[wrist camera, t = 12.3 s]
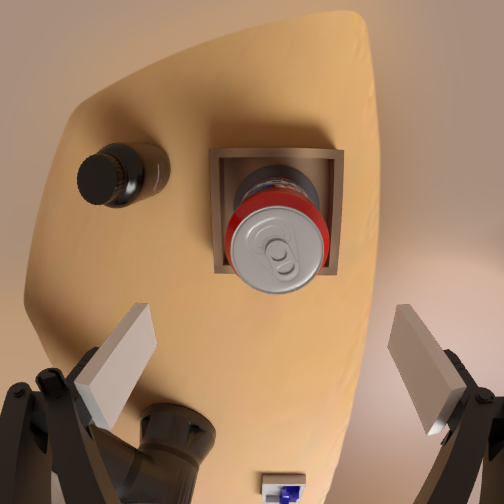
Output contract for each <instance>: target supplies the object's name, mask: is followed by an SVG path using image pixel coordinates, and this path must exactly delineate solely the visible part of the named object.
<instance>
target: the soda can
mask: <svg viewBox="0 0 504 504" xmlns="http://www.w3.org/2000/svg"><path fill="white" fill-rule="evenodd" d="M225 252H226V256H227V259H228V261H229V264H230V266H231V267H232V269H233V270H234V272H235V273H236V274H237V275H238V276H239V277H240V278H241V279H242V280H243V281H244V282H245V283H246V284H248V285H249V286H250V287H252V288H254V289H256V290H258V291H260V292H263V293H267V294H287V293H291V292H294V291H297V290H299V289H301V288H302V287H304V286H305V285H307V284H308V283H309V282H310V281H311V280H312V279H313V278H314V277H315V276H316V275H317V274H318V273H319V272H320V270H321V269H322V267H323V266H324V264H325V261H326V259H327V256H328V252H329V233H328V228H327V225H326V223H325V221H324V219H323V217H322V215H321V213H320V212H319V210H318V209H317V208H316V206H315V205H314V203H313V202H312V200H311V199H310V197H309V196H308V194H307V193H306V192H305V190H304V189H303V188H302V187H301V186H300V185H299V184H298V183H296V182H295V181H293V180H291V179H289V178H286V177H282V176H270V177H266V178H263V179H261V180H259V181H257V182H256V183H254V184H253V185H252V186H251V187H250V188H249V189H248V190H247V192H246V193H245V195H244V197H243V198H242V200H241V202H240V203H239V205H238V207H237V208H236V210H235V212H234V213H233V215H232V217H231V219H230V221H229V223H228V225H227V228H226V232H225Z"/></svg>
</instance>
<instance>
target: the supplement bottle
mask: <svg viewBox="0 0 504 504" xmlns="http://www.w3.org/2000/svg"><path fill="white" fill-rule="evenodd" d="M170 170H171V169H170V162H169V159H168V157H167V155H166V153H165V152H164V151H163V150H162V149H161V148H160V147H158V146H156V145H154V144H150V143H112V144H109V145H106V146H105V147H103V148H102V149H100V150H99V151H98V152H97V153H96V154H94V155H91V156H89V157H88V158H86V160H84V161H83V163H82V164H81V166H80V168H79V172H78V173H77V175H78V176H77V185H78V189H79V192H80V193H81V196H82V197H83V198H84V200H86V201H87V202H89V203H91V204H94V205H102V204H103V205H105V206H107V207H110V208H123V207H126V206H129V205H131V204H134V203H136V202H139V201H141V200H144V199H146V198H149V197H151V196H153V195H155V194H157V193H159V192H160V191H161V190H162V189H163V188H164V187H165V186H166V184H167V182H168V180H169V177H170Z"/></svg>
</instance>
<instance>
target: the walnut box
mask: <svg viewBox="0 0 504 504" xmlns="http://www.w3.org/2000/svg"><path fill="white" fill-rule="evenodd" d="M209 160H210V191H211V215H212V236H213V254H214V271H215V273H224V274H236V273H235V272H234V270H233V269H232V267H231V266H230V264H229V261H228V259H227V256H226V252H225V232H226V228H227V225H228V223H229V221H230V219H231V217H232V215H233V213H234V212H235V210H236V208H237V207H238V205H239V203H240V202H241V200H242V198H243V197H244V195H245V193H246V192H247V190H248V189H249V188H250V187H251V186H252V185H253V184H254V183H256V182H257V181H259V180H261V179H263V178H266V177H270V176H282V177H286V178H289V179H291V180H293V181H295V182H296V183H298V184H299V185H300V186H301V187H302V188H303V189H304V190H305V192H306V193H307V194H308V196H309V197H310V199H311V200H312V202H313V203H314V205H315V206H316V208H317V209H318V210H319V212H320V213H321V215H322V217H323V219H324V221H325V223H326V225H327V228H328V233H329V252H328V256H327V259H326V261H325V264H324V266H323V267H322V269H321V270H320V272H319V273H318V274H317V275H337V267H338V256H339V244H340V231H341V216H342V198H343V174H344V150H336V149H316V148H276V147H255V148H215V149H209Z"/></svg>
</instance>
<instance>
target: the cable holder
mask: <svg viewBox="0 0 504 504" xmlns="http://www.w3.org/2000/svg"><path fill="white" fill-rule="evenodd" d="M290 499H291V500H297V499H299V486H283V487H282V488H281V489H280V500H279V504H289V501H290Z"/></svg>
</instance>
